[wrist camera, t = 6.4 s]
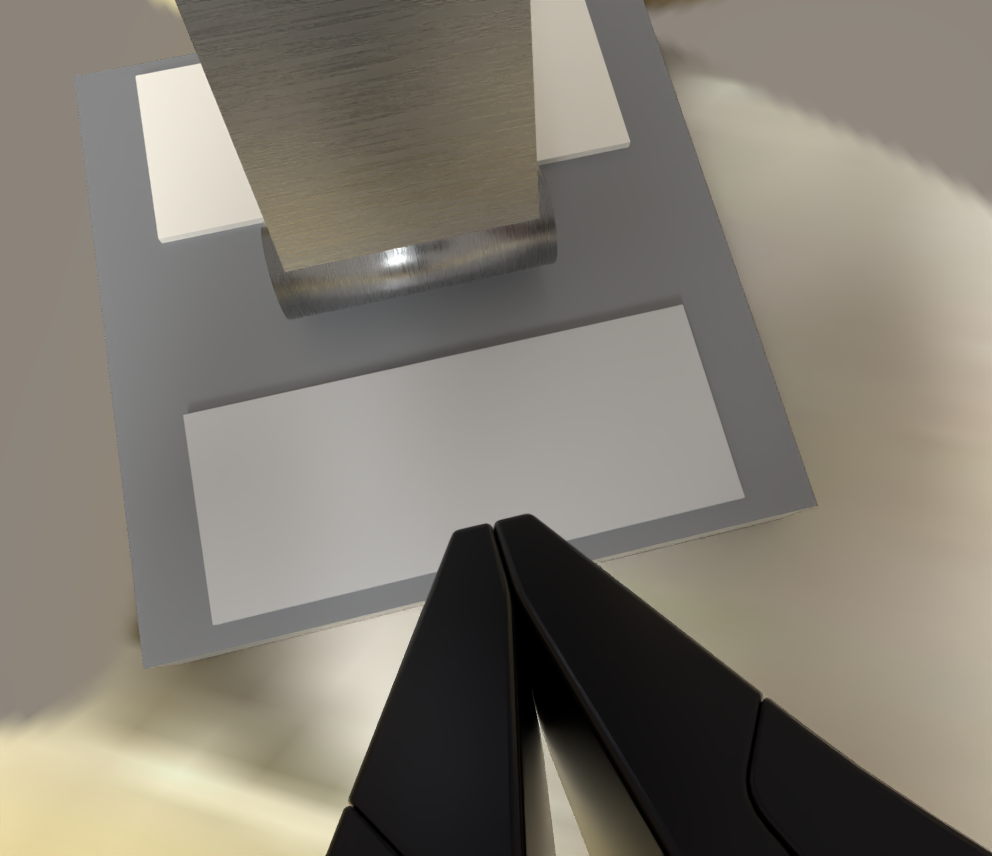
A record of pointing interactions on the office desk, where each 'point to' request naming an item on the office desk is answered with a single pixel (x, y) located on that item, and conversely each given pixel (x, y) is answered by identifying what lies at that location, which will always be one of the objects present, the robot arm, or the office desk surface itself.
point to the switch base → (420, 362)
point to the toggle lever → (381, 141)
